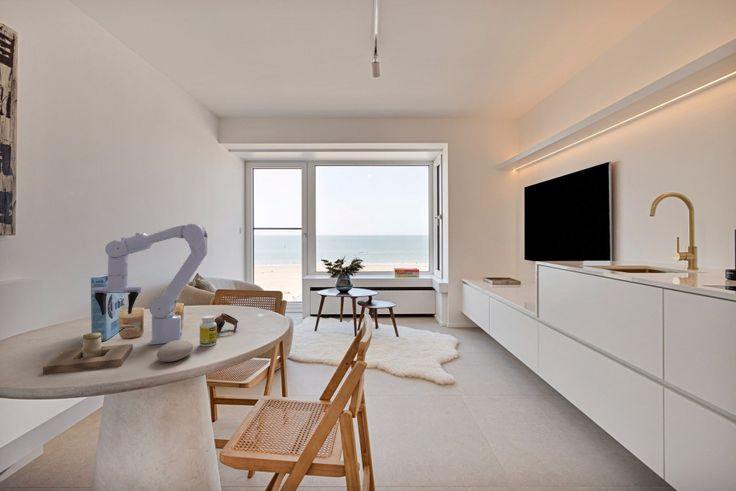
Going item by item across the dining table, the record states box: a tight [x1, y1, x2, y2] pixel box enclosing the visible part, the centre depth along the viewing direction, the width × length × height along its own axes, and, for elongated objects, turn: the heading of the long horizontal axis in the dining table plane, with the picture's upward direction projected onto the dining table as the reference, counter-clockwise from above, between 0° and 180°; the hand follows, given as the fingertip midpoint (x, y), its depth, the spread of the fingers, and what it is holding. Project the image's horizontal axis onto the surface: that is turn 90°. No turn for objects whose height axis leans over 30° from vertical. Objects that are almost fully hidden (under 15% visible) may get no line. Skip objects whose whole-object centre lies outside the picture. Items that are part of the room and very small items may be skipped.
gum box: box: [90, 273, 126, 342], centre depth 140 cm, size 20×5×23 cm, turn 16°
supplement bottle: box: [199, 315, 218, 347], centre depth 128 cm, size 5×5×10 cm
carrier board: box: [42, 343, 134, 375], centre depth 111 cm, size 18×16×2 cm
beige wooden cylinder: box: [82, 332, 102, 359], centre depth 111 cm, size 4×4×8 cm
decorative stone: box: [156, 339, 194, 363], centre depth 114 cm, size 13×9×5 cm
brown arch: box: [214, 312, 239, 334], centre depth 145 cm, size 12×10×8 cm
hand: (116, 313), depth 128 cm, fingers open, 7 cm apart
